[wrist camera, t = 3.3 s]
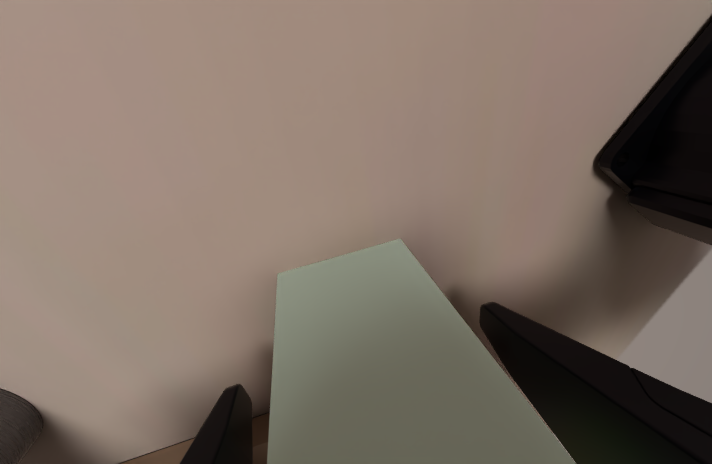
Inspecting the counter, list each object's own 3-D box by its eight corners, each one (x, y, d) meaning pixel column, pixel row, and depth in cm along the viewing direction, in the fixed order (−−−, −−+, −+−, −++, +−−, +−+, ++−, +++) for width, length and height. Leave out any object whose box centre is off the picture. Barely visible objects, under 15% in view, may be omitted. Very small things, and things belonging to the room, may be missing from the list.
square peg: (400, 238, 10) (680, 597, 3) (410, 323, 12) (581, 643, 5) (277, 273, 9) (247, 814, 2) (311, 355, 11) (349, 759, 4)
